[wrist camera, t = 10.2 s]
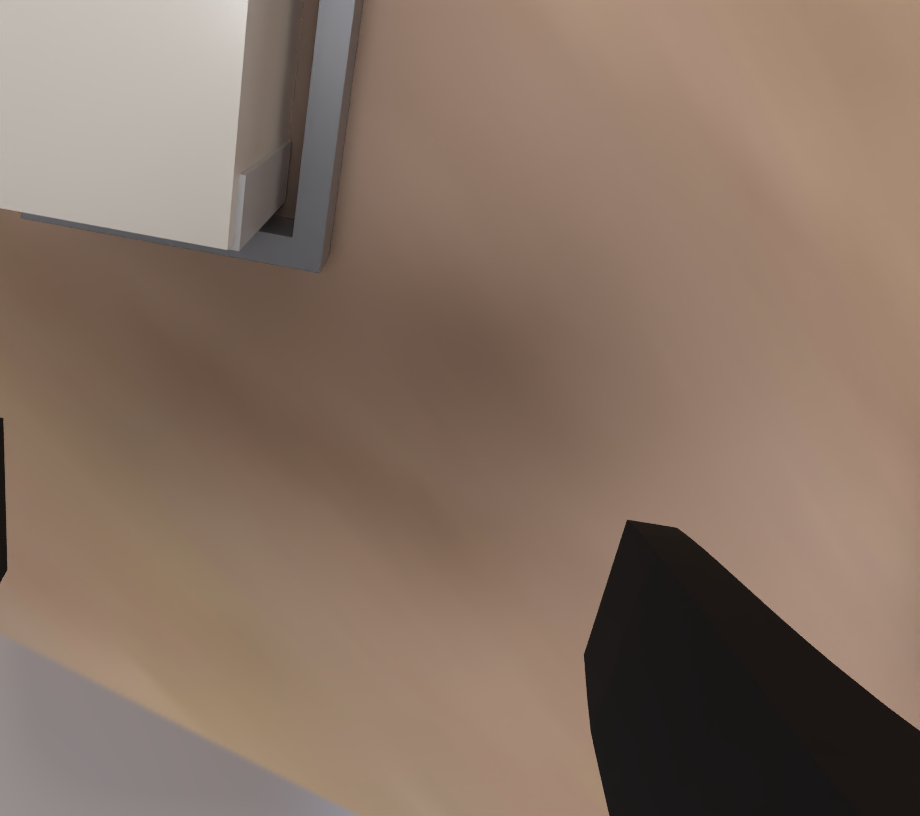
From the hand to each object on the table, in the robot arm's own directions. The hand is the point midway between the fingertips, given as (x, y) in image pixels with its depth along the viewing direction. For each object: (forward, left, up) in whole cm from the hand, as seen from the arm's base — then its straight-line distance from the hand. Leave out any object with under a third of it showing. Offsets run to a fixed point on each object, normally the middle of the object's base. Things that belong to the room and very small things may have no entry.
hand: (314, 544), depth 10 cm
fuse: (-4, +6, -10) cm, 12 cm away
